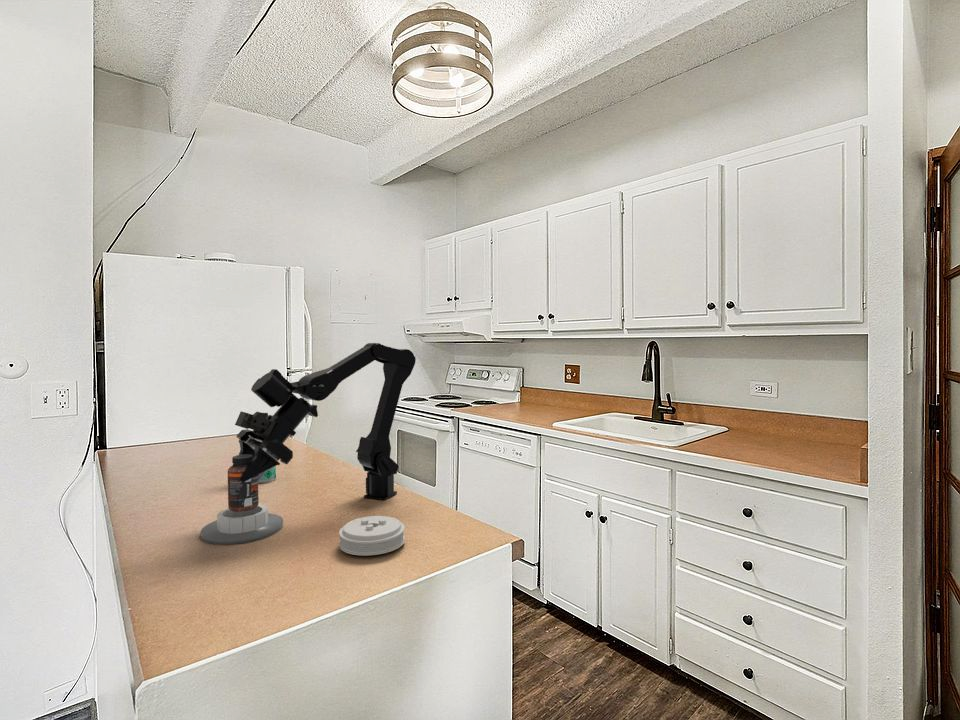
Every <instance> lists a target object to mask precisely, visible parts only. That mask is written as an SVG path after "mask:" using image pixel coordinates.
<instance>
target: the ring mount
mask: <svg viewBox="0 0 960 720" xmlns="http://www.w3.org/2000/svg"><path fill="white" fill-rule="evenodd" d="M283 527H284V519H283V517H282V516H281V515H278V514H274V513H269V508H268V507H267V506H266V505H264V504H258V506H257V507H256V508H254V509H252V510H248V511H241V512H234V511H231V510H229V507H227V508H225V509H222V510H220V511H219V512H218V513H217V514H216V520H213V521H212V522H209V523H207V524H206V525H205V526H203V527H202V528H201V530H200V539H201V538H202V539H201V540H202V541H203V540H204V541H203V542H205V543H207V542H208V544H211V543H212V545H221V546H222V545H237V544H239V545H240V544H244V543H245V544H246V543H249V542H250V543H251V542H255V541H259V540H263V539H265V538H267V537H270V536H272V535H275V534H276V533H278V532H279V531H281V530H282V528H283Z"/></svg>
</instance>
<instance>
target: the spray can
mask: <svg viewBox="0 0 960 720" xmlns="http://www.w3.org/2000/svg"><path fill="white" fill-rule="evenodd" d="M263 413H264V414H266V416H268V415H269V413H268V412H263ZM276 480H277V465H276V466H274V467H272V468H270V469H268V470H266V471H264V472H262V473H260V474H258V484H267V483H266V482H268V483H271V482H272V481H273V482H275V481H276Z"/></svg>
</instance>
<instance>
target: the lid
mask: <svg viewBox="0 0 960 720" xmlns="http://www.w3.org/2000/svg"><path fill="white" fill-rule="evenodd" d="M405 528H406V527H405V524H404V523H403V522H401V521H400V520H398V519H397V518H396V517H395V518H394V517H393V516H384V515H373V516H372V515H371V516H370V515H369V516H363V517H358V518H356V519H352V520H351V521H348V522H347V523H345V524H344V526H342V527H341V528H340V529H339V532H338V536H339V537H340V541H339V546H338V548H339V549H340V550H341V551H342V552H344V553H346V554H349V555H355V556H365V557H366V556H376V555H382V554H387V553H390V552H393V551H396V550H397V549H399V548H401V547H402V546H403V545H404V543H405V542H406V538H405V536H404V532H405V530H406V529H405Z"/></svg>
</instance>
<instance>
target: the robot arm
mask: <svg viewBox="0 0 960 720" xmlns="http://www.w3.org/2000/svg"><path fill="white" fill-rule="evenodd" d="M416 359H417V358H416V356H415V354H414V352H413V351H412V350H410V349H408V348H407V349H406V348H403V349H402V348H400V349H399V348H395V347H390V346H387V345H383V344H381V343H379V342H368V343H366V344H365V345H363V347H361V348H359V349H357V350H356V351H354V352H353V353H351V354H350V355H348V356H347V357H344V358H343V359H341V360H340V361H338V362H336V363H334V364H333V365H331V366H329V367H328V368H325V369H324V368H323V369H321V370H319V371H314V372H312V373H308V374H306V375H304V376H302V377H301V378H300V379H299V380H298V381H294V382H290V381H288V380H287V379H286V377H285V376H283V374H282V373H281V372H280V371H279V370H278V369H275V368H273V369H271V370H270V371H269V372H267V373H266V374H264V375H262V376H261V377H259V378H257V379H256V381H255V382H254V384H252V386H251V388H250V389H251V392H253V394H255V395H256V396H257V397H258V398H259V399H261V400H262V402H264V403H266V405H268V406H269V407H270V408H274V407H277V408H278V409H277V410H276V411H275V413H273V414H268V416H266V414H264V413H265V412H260V411H255V413H253V414H251V413H249V412H244V411H239V415H238V416H237V419H236V421H235V423H234V425H235V426H237V427H239V428H243V429H241V430H240V431H239V432H238V433H237V435H236V438H237V439H238V443H239V449H240V450H239V452H238V455H243V454H251V455H253V459H252V461H251V462H250V463H249V465H248V466H247V468H246V469H245V471H244V472H243V474H242V476H241V477H240V480H241V481H242V482H245V481H247V480H249V479H251V478H253V477H254V476H256V475H258V474H260V473H262V472H264V471H266V470H268V469H270V468H272V467H274V466H276V467H277V466H280V465H281V463H282V464H285V465H288V464H289V463H290V462H291V461H292V460H293V458H294V454H293V453H294V452H293V450H291V449H290V448H289V447H288V446H287V445H285V442H286V440H288V439H289V437H290V436H291V437H294V436H295V435H296V434H297V432H296V431H295V430H296V429H297V428H298V427H299V425H300V424H301V423H302V422H303V420H304V419H305V418H306V417H307V415H309V416H310V417H314V418H318V416H319V413H318V412H319V411H318V405H317V404H311V403H309V402H308V401H307V400H309V401H310V400H311V401H316V402H321V401H323V400H325V399H327V398H328V397H329V396H330V395H331V394H332V393H333V392H335V390H336V389H337V388H338V386H339V385H340V384H341V383H342V382H343V381H344V380H346V379H347V378H349V377H350V376H353V375H354V374H355V373H357V372H358V371H361V370H362V369H363V368H364V367H366V366H368V365H370V364H371V363H373V362H375V361H376V362H377V363H381V364H383V366H382V370H383V371H382V372H383V376H384V382H383V385H382V390H381V392H380V396H379V401H378V403H377V407H376V411H375V414H374V419H373V423H372V425H371V429H370V431H369V433H368V434H367V436H365V437H364V436H360V438H359V442H358V443H359V444H358V447H357V449H356V451H355V452H356V453H357V455H356V456H357V457H356V458H357V461H358V462H359V464H360V465H361V466H362V469H363V471H365V472H366V478H365V494H364V495H363V498H365V499H371V500H372V499H374V500H382V501H386V500H387V499H389V498H392V497H393V496H395V495H397V494H398V491H397V490H395V476H394V475H397V473H398V470H399V467H400V466H399V464H397V463H396V461H394V460H393V459H392V458H391V451H392V446H391V442H390V441H391V440H390V434H391V430H392V426H393V422H394V419H395V418H394V417H395V415H396V410H397V408H398V405H399V404H398V403H399V401H400V396H401V392H402V390H403V389H402V388H403V385H404V383H405V382H406V381H407V380H408V378H409V377H410V376H411V374H412V372H413V370H414V367H415V365H416ZM295 394H298V395H299V396H300V397H299V398H298V397H297V396H296V395H295ZM279 461H280V462H281V463H280V462H279Z"/></svg>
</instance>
